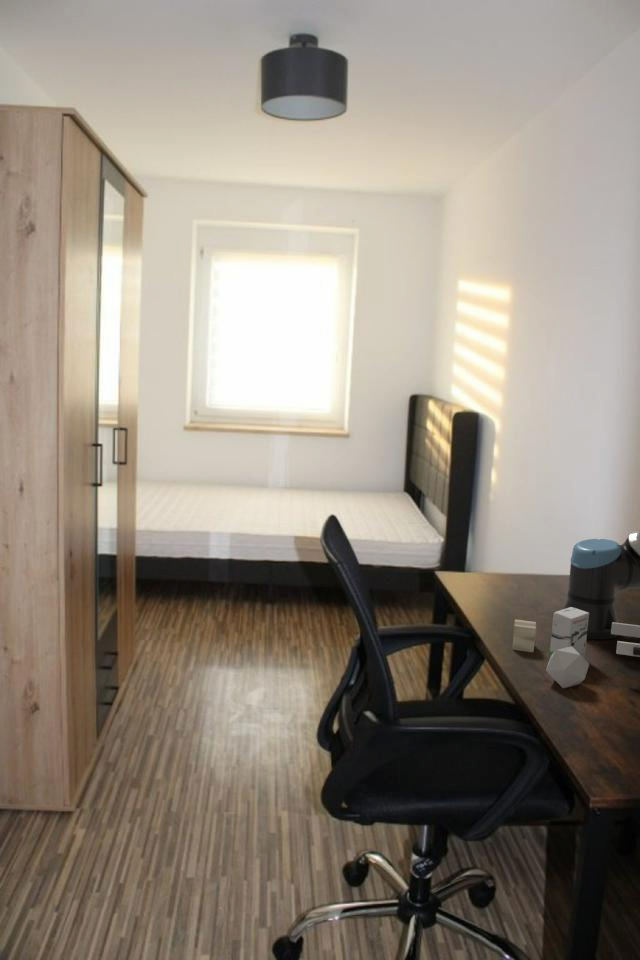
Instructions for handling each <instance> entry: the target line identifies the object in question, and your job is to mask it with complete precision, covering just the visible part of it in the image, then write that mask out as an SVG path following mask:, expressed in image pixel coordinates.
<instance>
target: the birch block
mask: <svg viewBox="0 0 640 960" xmlns="http://www.w3.org/2000/svg"><path fill="white" fill-rule="evenodd" d="M536 631H537V622H536V621H529V620H523V619H514V625H513V635H512V649H511V650H513V651H515V650H516V651H520V652H521V651H522V652H526V653H527V652H528V653H534V650H535V641H536V633H537V632H536Z"/></svg>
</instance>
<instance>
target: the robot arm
mask: <svg viewBox="0 0 640 960" xmlns="http://www.w3.org/2000/svg"><path fill="white" fill-rule="evenodd" d="M569 567H570V568H569V579H568V589H567V597H566V600H565V602H564V604H563V607H562V609H561V610H563V609H566V608H569V607H573V608H577V609H579V610H582V611H585V612H588V613H589V620H588V629H587V639H589V640H599V641H600V640H603V641H604V640H612V639H615V638H617V637H618V636H624V637H631V638H633V637H634V638H638V639H640V625H638V624H629V623H624V622H623V623H621V622H619V620H618V615H617V612H616V607H615V600H616V593H617V591H622V590H623V591H625V590H640V529H639V530H634V531H632V532H631V533H630V534H629V536H627V538H626V539H625V541H624V542H623V543H622V544H620V543H618V542H617V541H614V540H612V539H605V538H601V539H598V538H591V539H590V538H589V539H584V540H583V539H582V540H580V541H578V542H577V543H576V544H574V546H573V547H572V552H571V557H570V566H569ZM616 642H617V643H616V652H615V653H616V654H617V655H625V656H631V657H639V658H640V643H636V642H627V641H622V640H621V641H620V640H617V641H616Z"/></svg>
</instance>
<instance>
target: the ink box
mask: <svg viewBox="0 0 640 960" xmlns="http://www.w3.org/2000/svg"><path fill="white" fill-rule="evenodd" d="M588 620H589V613H588V612H585V611H582V610H579V609H577V608H573V607H569V608H566V609H563V610H562V609H560V610H557V611H554V613H553V618H552V627H551V635H550V636H551V637H550V646H549V655H548V661H549V660H550V657H551V655H552V654H553V653H554V652H555V651H556V650H558V649H562V648H567V647H571V646H572V647H573V648H574V649H575V650H576V651H577V652H578V653H579V654H580V655H581V656H582V657H583V658H584V659H585V657H586V647H587V639H588V638H587V629H588Z"/></svg>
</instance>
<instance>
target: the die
mask: <svg viewBox="0 0 640 960" xmlns="http://www.w3.org/2000/svg"><path fill="white" fill-rule="evenodd" d="M589 667H590V663H589V662H588V661H587V660H586V659H585V658H583V657H582V656H581V655H580V654H579V653H578V652H577V651H576V650H575V649H574V648H573V647H572V646H571V647H567V648H562V649H558V650H556V651H555V652H554V653H553V654H552V655H551V657H550V660H549V659H548V663H547V666H546V669H545V672H546V673H548V674H549V676H550V677H551V678H552V679H553V680H554V681H555V682H556V683H557V684H559V685H558V686H560V687H561V688H562V689H566V688H570V687H575V686H578V685H580V684H581V683H582V682H583V681H584V680H585V679H586V675H587V674H588V673H587V672H588V669H589Z"/></svg>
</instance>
